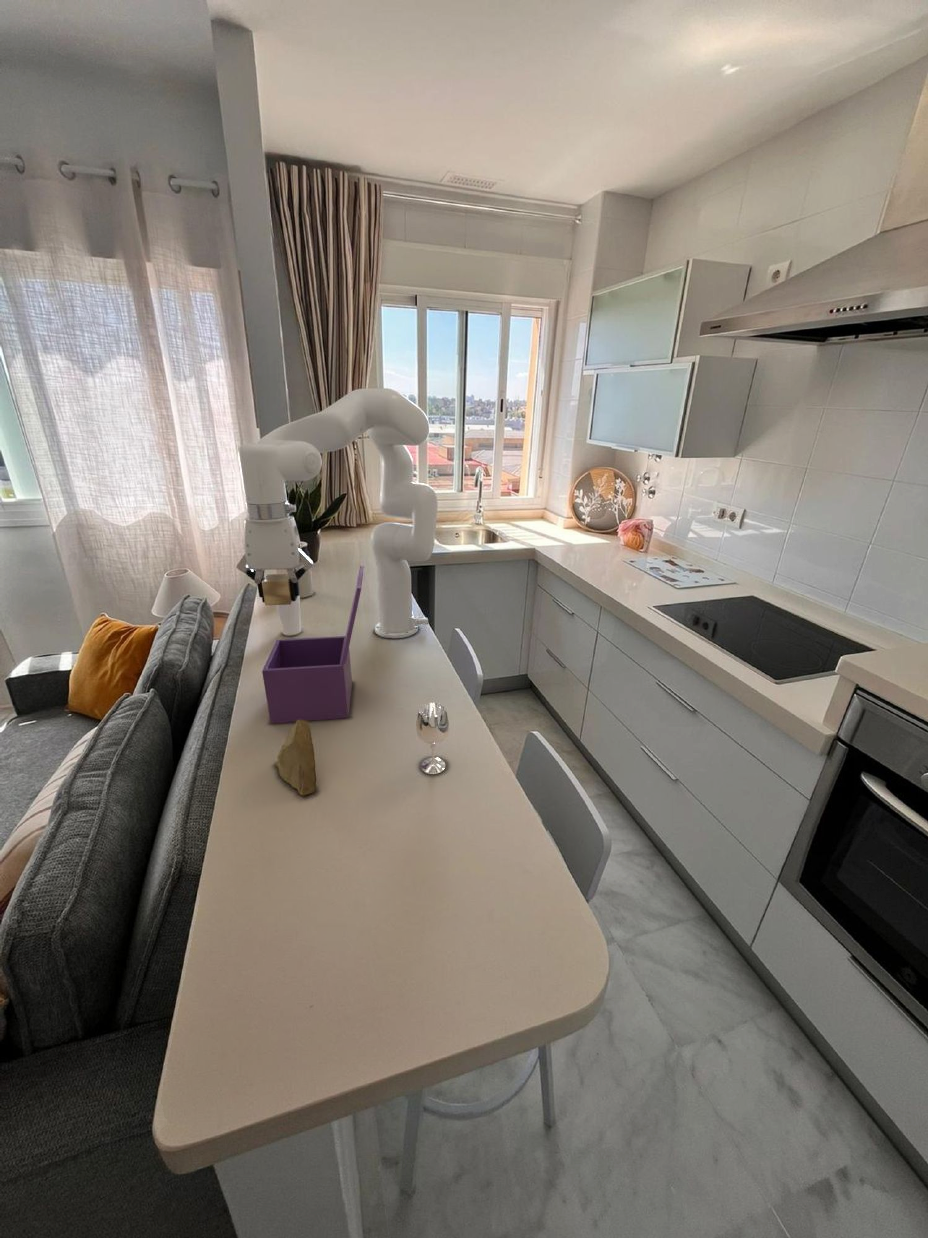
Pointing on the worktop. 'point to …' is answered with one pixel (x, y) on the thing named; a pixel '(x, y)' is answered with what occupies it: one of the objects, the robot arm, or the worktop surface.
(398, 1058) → the worktop surface
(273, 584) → the block
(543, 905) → the worktop surface
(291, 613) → the drinking glass
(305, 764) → the rock
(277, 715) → the purple box
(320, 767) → the worktop surface
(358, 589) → the lid
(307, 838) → the worktop surface
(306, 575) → the travel mug
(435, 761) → the wineglass
